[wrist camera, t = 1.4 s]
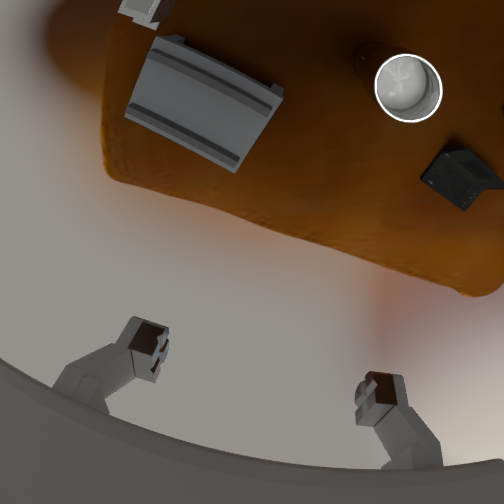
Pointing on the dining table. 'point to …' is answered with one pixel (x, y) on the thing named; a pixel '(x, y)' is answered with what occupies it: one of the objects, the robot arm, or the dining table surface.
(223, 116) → the stand
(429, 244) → the dining table surface
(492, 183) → the dark grey angled bracket
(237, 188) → the dining table surface
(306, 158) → the dining table surface
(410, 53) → the beer glass
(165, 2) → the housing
